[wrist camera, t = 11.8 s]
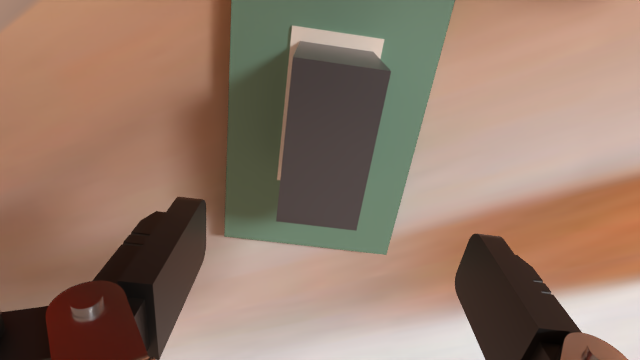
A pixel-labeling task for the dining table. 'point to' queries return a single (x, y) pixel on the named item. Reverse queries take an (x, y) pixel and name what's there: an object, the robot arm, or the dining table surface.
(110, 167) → the dining table surface
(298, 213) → the block
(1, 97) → the dining table surface
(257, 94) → the board
